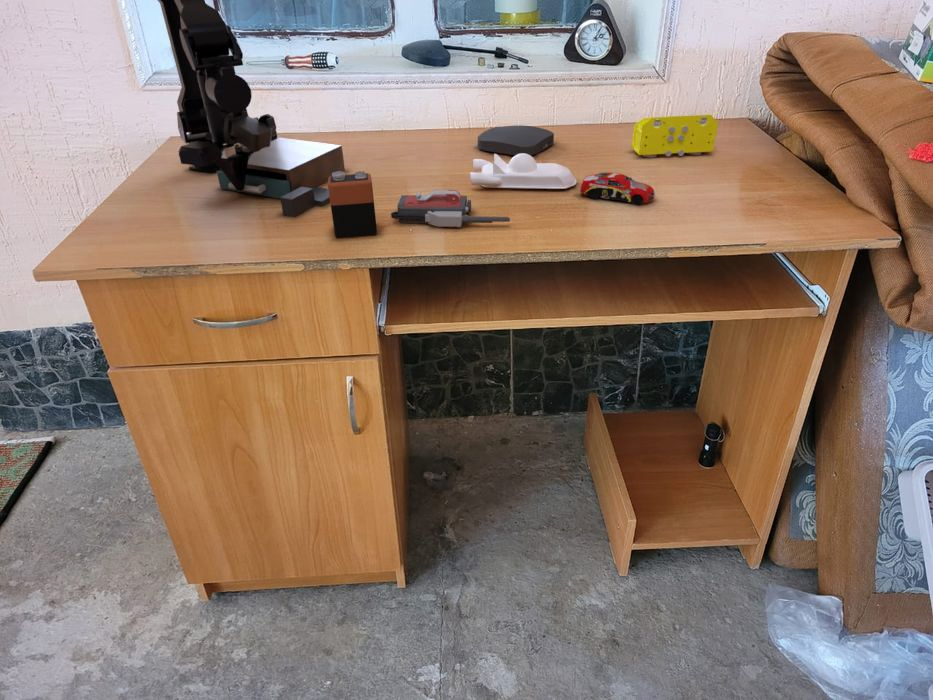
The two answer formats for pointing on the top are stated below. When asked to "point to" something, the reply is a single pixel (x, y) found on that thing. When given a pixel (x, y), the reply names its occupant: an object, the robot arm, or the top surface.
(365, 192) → the battery
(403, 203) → the walkie-talkie
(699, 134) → the yellow toy chassis
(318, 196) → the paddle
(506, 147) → the media streaming box
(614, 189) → the race car
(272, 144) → the drawer unit
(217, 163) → the robot arm
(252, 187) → the drawer
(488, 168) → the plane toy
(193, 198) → the top surface
